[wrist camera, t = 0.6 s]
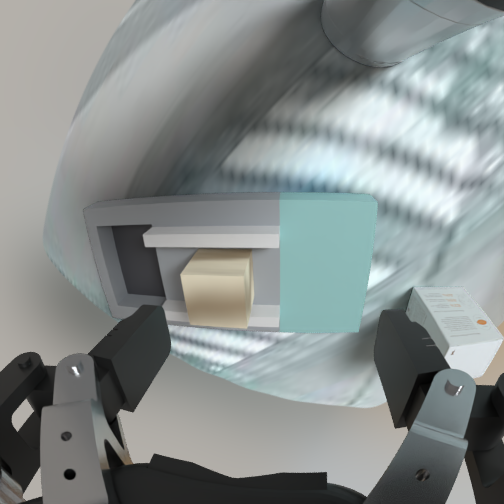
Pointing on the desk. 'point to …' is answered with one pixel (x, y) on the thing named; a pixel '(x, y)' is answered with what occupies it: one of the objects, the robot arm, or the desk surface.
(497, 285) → the desk surface
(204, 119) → the desk surface
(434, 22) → the robot arm
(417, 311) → the small box
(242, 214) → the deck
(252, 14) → the desk surface
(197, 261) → the block
